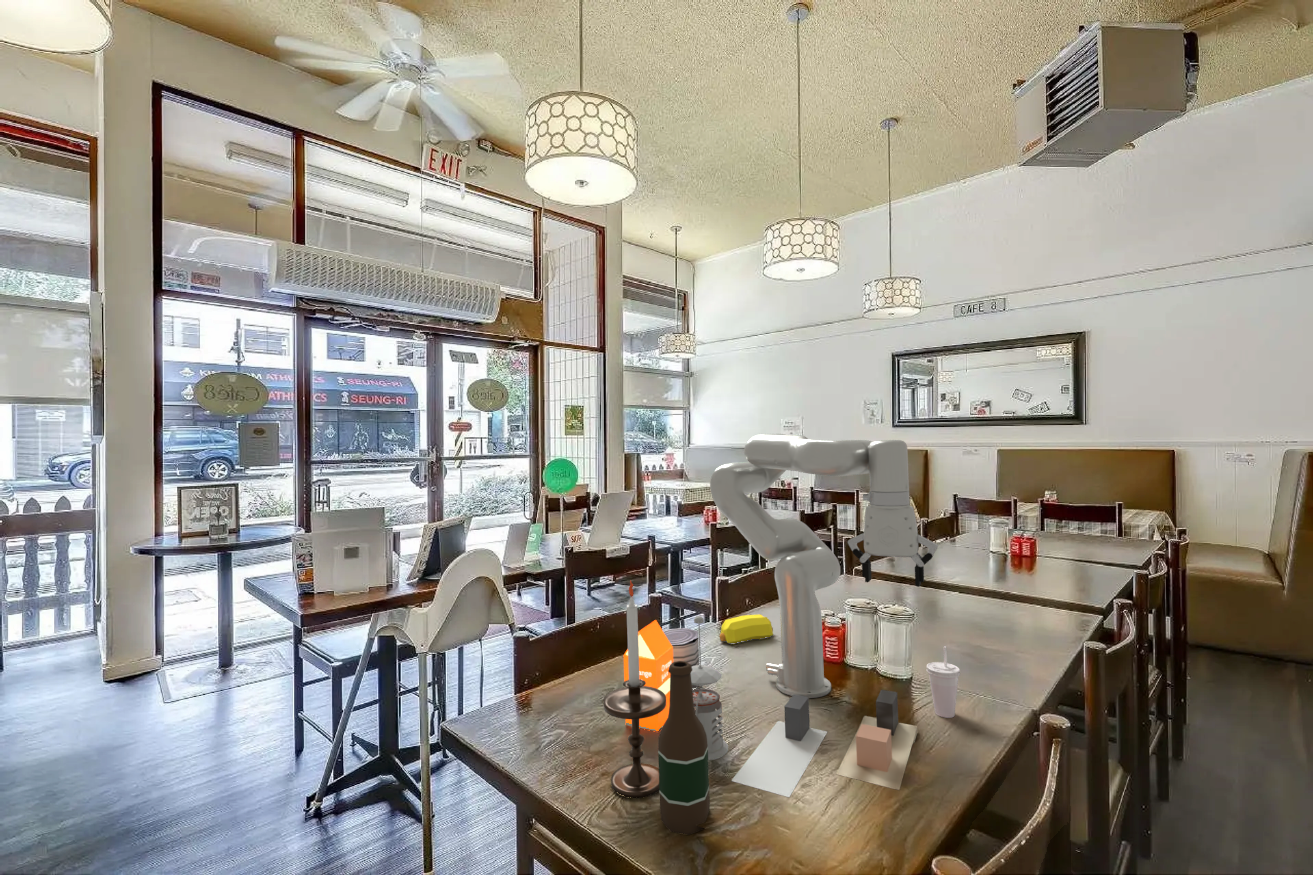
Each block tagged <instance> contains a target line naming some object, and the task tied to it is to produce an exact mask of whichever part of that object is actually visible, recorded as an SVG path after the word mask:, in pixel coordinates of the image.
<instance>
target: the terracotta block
mask: <svg viewBox="0 0 1313 875" xmlns="http://www.w3.org/2000/svg"><path fill="white" fill-rule="evenodd" d="M860 724H861V723H860ZM856 751H857V765H860V766H864V767H868V768H872V769H876V770H880V771H884V772H888V769H889V766H890V763H891V760H892V743H891V730H889V729H884V728H879V727H875V726H870V725H865V724H861V727H860V729H859V731H858V733H857V735H856Z"/></svg>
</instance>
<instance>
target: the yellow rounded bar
mask: <svg viewBox="0 0 1313 875" xmlns="http://www.w3.org/2000/svg"><path fill="white" fill-rule="evenodd" d="M773 629H774V627H773V625H772V621H771V620H770V619H769V618H768V617H767V616H763V615H762V614H747V615H746V614H745V615H739V616H735V617H732V618H728V619H725V620H724V622H723V623H722V625H721V628H720V633H719V640H720V641H721V642H723V641H727V642H726V643H727V644H729V643H737V642H741V641H746V642H748V641H747V640H750V641H752V640H751V639H759V640H761V639H760V638H765V637H770V636H771V637H772V636H773V635H774V630H773ZM771 637H770V638H771Z"/></svg>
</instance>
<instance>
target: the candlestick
mask: <svg viewBox="0 0 1313 875" xmlns="http://www.w3.org/2000/svg"><path fill="white" fill-rule="evenodd" d="M633 588H634V583H632V580H631V579H630V581H629V587H628V593H629V602H628V604H626V628H627V633H626V634H627V649H628V670H629V680H627V681H625V682H622V686H623V687H619V688H616V689H614V690H611V691H610V692H608V693H607V694H606V695H605V696H604V698H603V710H604V712H605V713H606V714H608V715H609V716H610V717H614V718H617V719H622V720H623V719H632V727H631V734H630V735H629V736H628V737H627V741H628V744H629V745H630V746H631V750H630V751H629V753H628V754H629V756H630V757H631V758H632V763H628V764H625V765H622V766H621V767H619V768H617V769H616V770H615V771H614V772H613V773H612V775H611V777H610V786H611V785H612V787H611V789H612V788H613V789H614V790H615V791H616V792H618V793H619V794H621V795H624V796H625V797H624V798H626V797H629V798H628V799H644V798H647V797H648V798H649V797H650V796H653V795H655V794H656V792H657V793H658V792H659V767H657V766H655V765H653V764H649V763H643V762H641V758H642V757H643V756H644V750H643V749H642V746H643V743H644V741H645V736H644V735H643V734H642V733H641V731H640V730H641V729H640V727H639V719H642V718H647V717H651V716H654V715H656V714H658V713H660V712H661V711H662V710H664V708H665V707H666V696H665V694H664V693H663V692H662V691H661V690H659V689H656V688H653V687H648V686H644V685H645V684H646V682H645V681H644V680H641V679H640V677H639V645H638V632H639V623H638V622H639V621H638V620H639V619H638V618H639V617H638V616H639V615H638V604H636V603H635V600H634V589H633ZM613 789H612V790H613ZM630 797H631V798H630ZM643 797H644V798H643Z"/></svg>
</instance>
